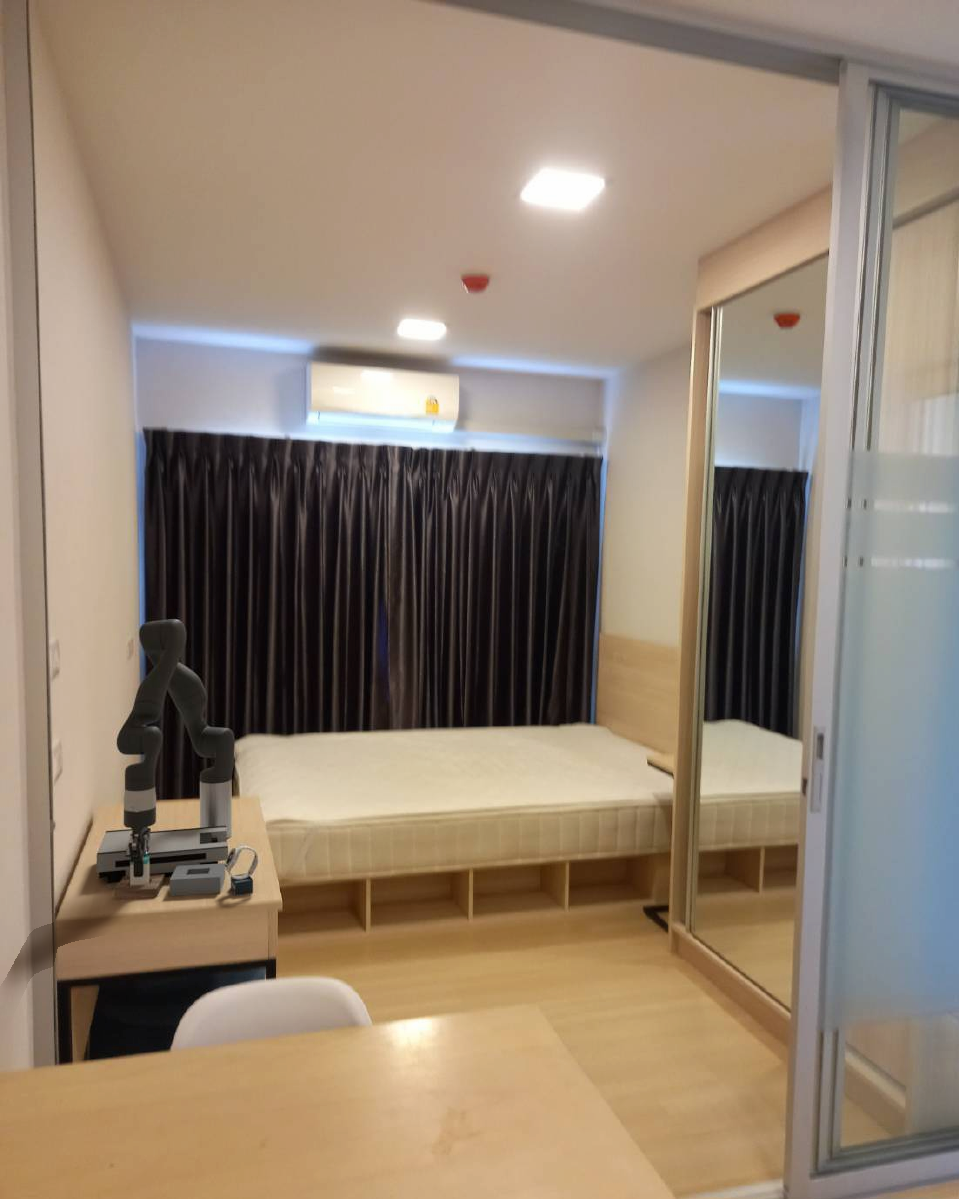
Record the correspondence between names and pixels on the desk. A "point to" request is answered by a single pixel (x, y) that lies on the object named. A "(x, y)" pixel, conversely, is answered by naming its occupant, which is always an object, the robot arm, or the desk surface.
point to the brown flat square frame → (139, 888)
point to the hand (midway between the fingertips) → (139, 874)
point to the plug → (145, 878)
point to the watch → (241, 881)
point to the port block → (197, 879)
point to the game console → (162, 851)
